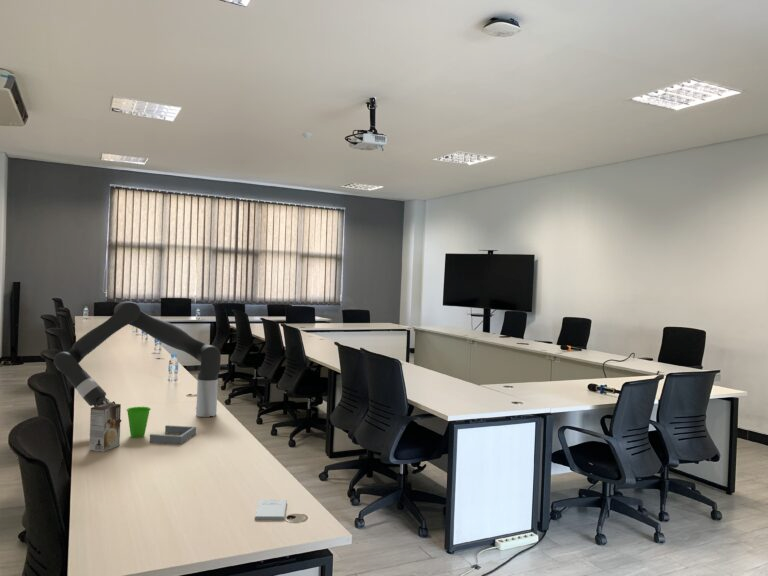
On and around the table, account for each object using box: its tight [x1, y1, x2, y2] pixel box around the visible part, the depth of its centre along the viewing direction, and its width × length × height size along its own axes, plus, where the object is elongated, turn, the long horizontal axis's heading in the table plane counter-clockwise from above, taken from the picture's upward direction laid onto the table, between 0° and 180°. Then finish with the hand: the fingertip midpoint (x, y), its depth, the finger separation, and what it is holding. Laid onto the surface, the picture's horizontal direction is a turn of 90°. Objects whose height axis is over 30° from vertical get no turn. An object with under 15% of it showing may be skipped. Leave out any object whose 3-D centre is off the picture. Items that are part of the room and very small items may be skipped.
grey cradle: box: [149, 424, 197, 445], centre depth 235 cm, size 15×13×3 cm
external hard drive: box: [254, 499, 288, 521], centre depth 167 cm, size 2×8×12 cm
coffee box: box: [88, 403, 122, 453], centre depth 218 cm, size 9×6×16 cm
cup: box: [126, 406, 152, 439], centre depth 236 cm, size 9×9×11 cm
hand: (119, 423), depth 236 cm, fingers closed
